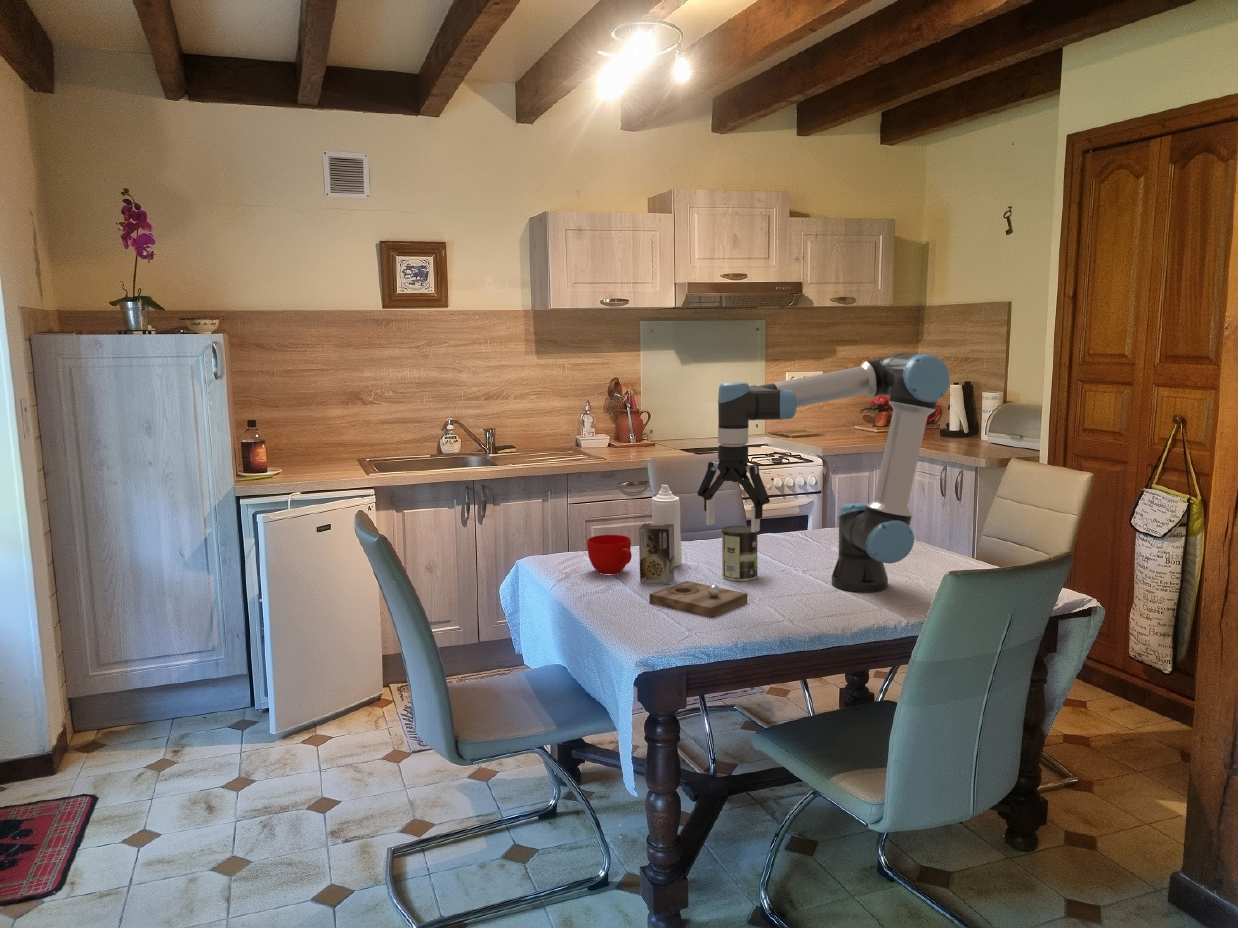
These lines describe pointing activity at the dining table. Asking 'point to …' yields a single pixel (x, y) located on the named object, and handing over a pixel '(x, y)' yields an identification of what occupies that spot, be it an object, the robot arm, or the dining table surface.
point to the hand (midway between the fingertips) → (732, 527)
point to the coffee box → (656, 553)
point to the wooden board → (697, 599)
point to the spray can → (668, 517)
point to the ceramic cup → (609, 553)
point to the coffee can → (739, 553)
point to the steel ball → (713, 590)
